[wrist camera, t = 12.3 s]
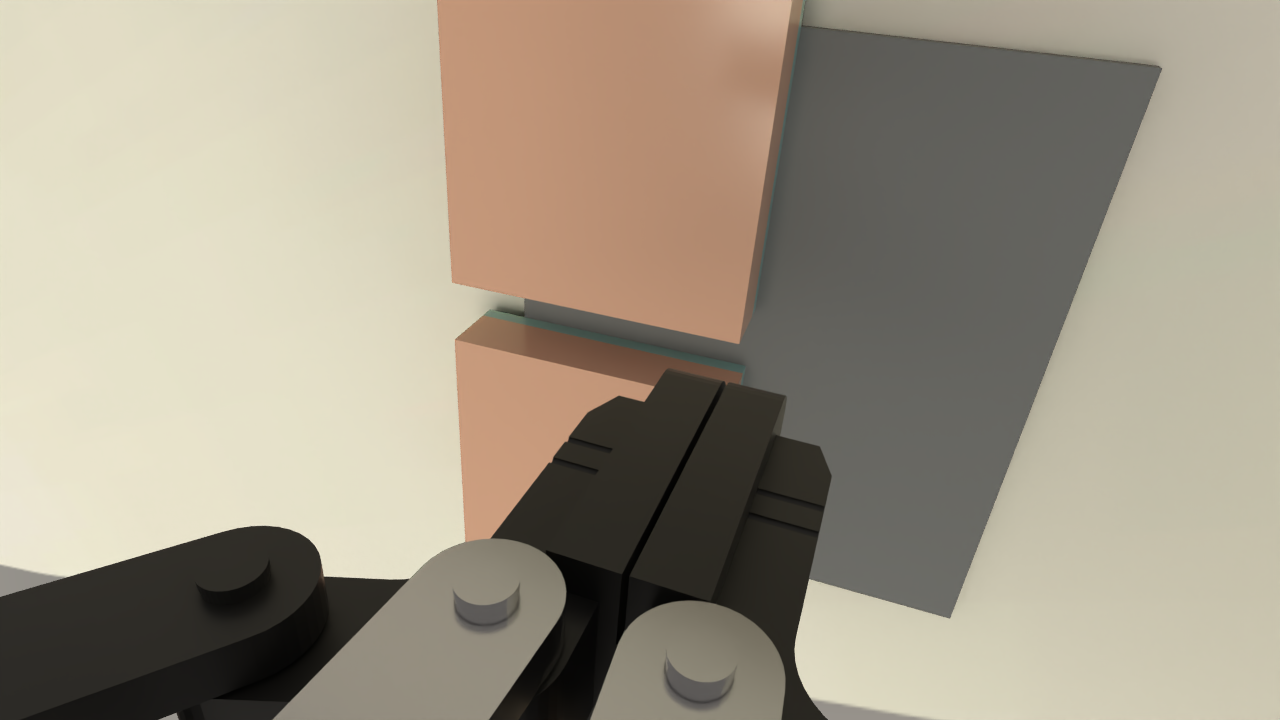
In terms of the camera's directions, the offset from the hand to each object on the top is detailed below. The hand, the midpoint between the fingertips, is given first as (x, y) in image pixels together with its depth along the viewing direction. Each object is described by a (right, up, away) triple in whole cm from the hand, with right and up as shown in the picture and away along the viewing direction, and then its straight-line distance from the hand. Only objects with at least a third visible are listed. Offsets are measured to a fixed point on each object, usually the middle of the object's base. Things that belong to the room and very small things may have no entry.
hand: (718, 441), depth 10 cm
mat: (+3, +2, +15) cm, 15 cm away
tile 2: (+2, -4, +16) cm, 17 cm away
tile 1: (+3, +6, +11) cm, 12 cm away
